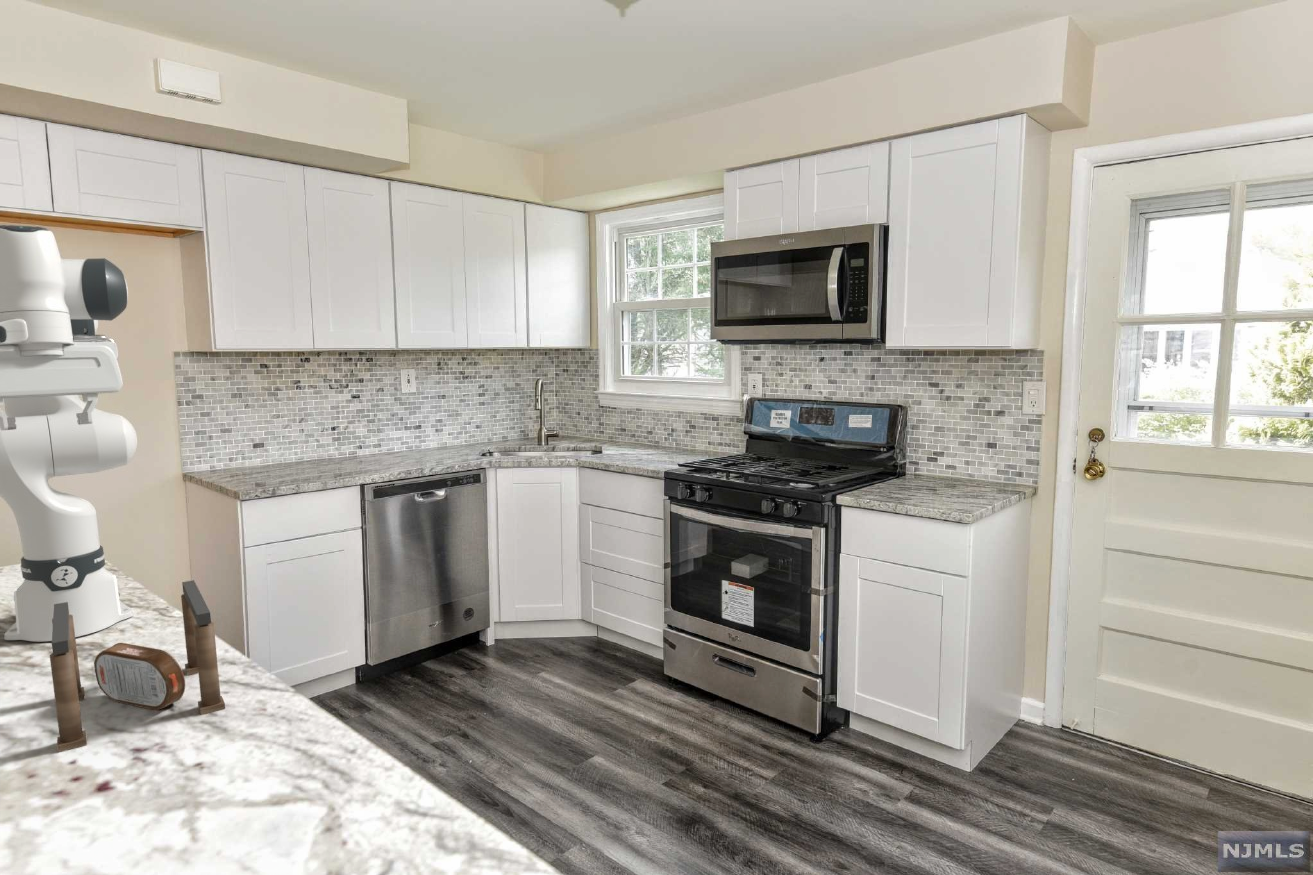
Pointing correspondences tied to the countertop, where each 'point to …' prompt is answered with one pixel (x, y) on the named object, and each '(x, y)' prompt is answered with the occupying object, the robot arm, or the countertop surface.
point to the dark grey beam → (196, 603)
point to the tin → (139, 676)
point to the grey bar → (60, 629)
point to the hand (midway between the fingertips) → (48, 427)
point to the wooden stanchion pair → (71, 692)
